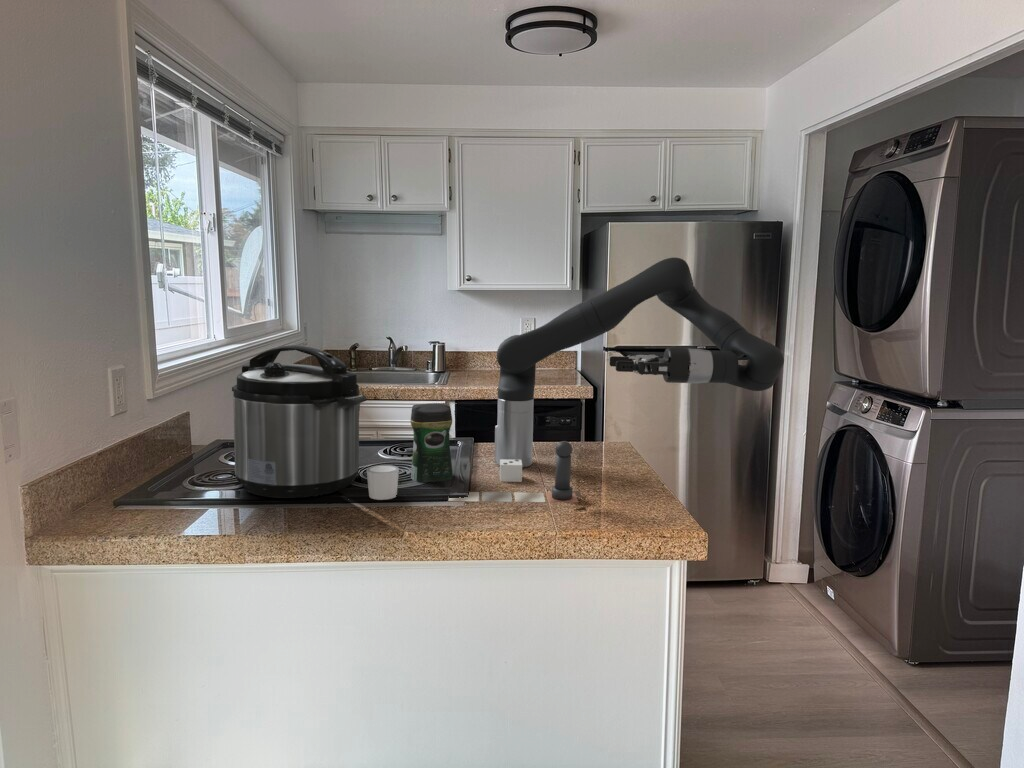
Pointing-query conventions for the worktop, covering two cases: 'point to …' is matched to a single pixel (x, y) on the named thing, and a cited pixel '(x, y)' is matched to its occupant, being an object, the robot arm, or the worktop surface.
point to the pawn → (562, 472)
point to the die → (510, 470)
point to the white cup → (382, 481)
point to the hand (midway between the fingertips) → (612, 363)
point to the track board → (518, 497)
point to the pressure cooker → (296, 425)
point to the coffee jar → (431, 442)
